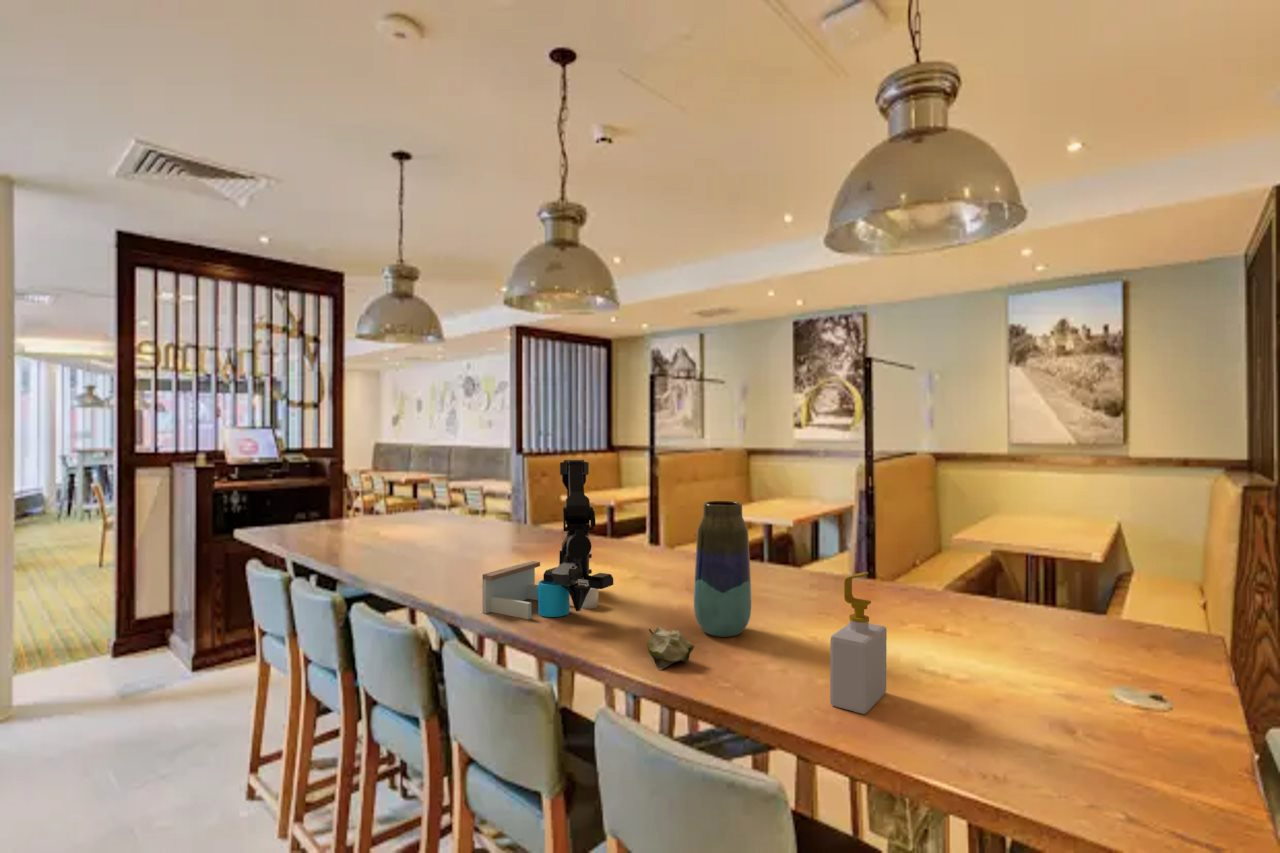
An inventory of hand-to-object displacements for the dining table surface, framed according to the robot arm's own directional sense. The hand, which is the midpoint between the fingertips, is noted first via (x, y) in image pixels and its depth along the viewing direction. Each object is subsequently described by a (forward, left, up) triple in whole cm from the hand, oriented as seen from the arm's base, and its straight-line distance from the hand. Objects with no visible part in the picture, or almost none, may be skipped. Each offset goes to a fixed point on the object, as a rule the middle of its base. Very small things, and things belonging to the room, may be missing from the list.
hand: (578, 610), depth 171 cm
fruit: (+16, +35, -2) cm, 39 cm away
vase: (-8, +37, -2) cm, 38 cm away
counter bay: (0, -16, -2) cm, 16 cm away
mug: (0, -9, -2) cm, 10 cm away
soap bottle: (+15, +74, -2) cm, 76 cm away
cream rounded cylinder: (-10, -4, -2) cm, 11 cm away
